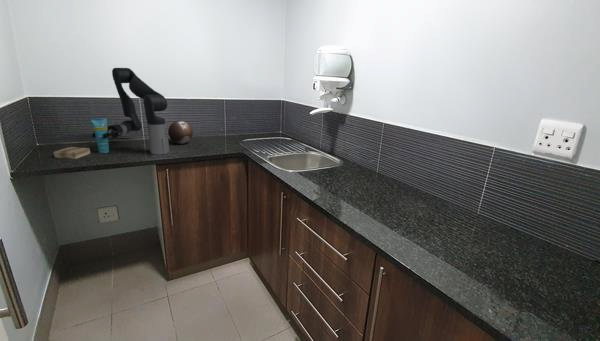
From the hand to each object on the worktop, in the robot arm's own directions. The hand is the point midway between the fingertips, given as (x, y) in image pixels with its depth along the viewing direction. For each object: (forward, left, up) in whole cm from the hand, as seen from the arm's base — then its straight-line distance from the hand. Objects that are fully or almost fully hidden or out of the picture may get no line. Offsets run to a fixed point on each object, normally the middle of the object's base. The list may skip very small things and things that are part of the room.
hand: (98, 135), depth 159 cm
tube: (0, -3, -10) cm, 11 cm away
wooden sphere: (-32, -33, -10) cm, 47 cm away
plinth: (+11, +6, -10) cm, 16 cm away
